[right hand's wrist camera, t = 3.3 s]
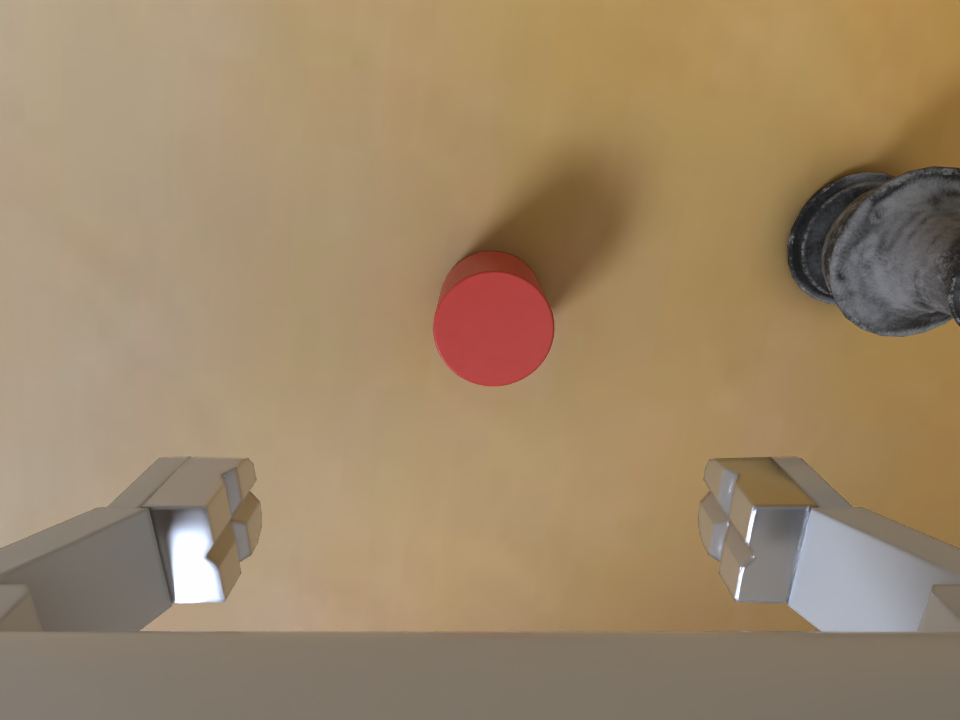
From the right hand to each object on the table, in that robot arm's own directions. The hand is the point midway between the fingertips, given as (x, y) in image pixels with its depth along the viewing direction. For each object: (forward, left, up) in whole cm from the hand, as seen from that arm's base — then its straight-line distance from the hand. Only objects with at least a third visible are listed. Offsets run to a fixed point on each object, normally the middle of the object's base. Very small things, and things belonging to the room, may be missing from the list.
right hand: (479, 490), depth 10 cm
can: (0, 0, -15) cm, 15 cm away
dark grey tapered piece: (+15, -4, -15) cm, 21 cm away
